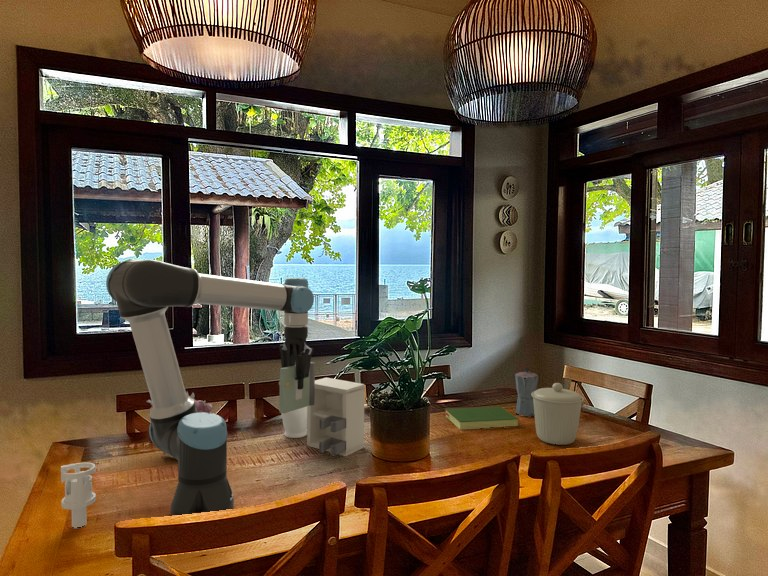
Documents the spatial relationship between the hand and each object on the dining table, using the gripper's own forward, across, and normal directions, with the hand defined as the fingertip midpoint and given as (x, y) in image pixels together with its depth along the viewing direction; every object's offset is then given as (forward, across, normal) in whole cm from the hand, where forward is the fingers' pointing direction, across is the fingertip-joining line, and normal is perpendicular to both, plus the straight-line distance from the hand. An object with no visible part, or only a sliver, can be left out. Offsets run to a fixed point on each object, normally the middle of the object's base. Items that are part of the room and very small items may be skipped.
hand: (295, 398), depth 168 cm
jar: (+19, +15, -16) cm, 30 cm away
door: (+3, 0, -1) cm, 4 cm away
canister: (+19, -65, -67) cm, 96 cm away
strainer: (+20, +11, +62) cm, 66 cm away
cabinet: (+19, -5, -12) cm, 23 cm away
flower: (+20, +34, +18) cm, 43 cm away
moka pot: (+19, -45, -93) cm, 105 cm away
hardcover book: (+19, -33, -72) cm, 82 cm away
